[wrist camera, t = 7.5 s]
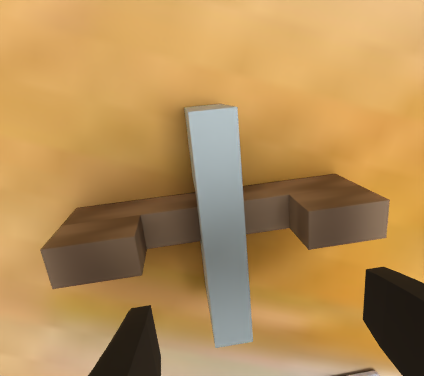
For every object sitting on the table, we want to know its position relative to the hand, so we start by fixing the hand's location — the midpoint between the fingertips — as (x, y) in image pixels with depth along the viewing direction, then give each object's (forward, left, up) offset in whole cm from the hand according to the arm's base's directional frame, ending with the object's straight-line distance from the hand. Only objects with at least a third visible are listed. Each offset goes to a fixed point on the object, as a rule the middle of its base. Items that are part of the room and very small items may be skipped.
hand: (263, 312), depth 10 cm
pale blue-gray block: (0, +1, -9) cm, 9 cm away
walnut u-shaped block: (0, +1, -9) cm, 9 cm away
